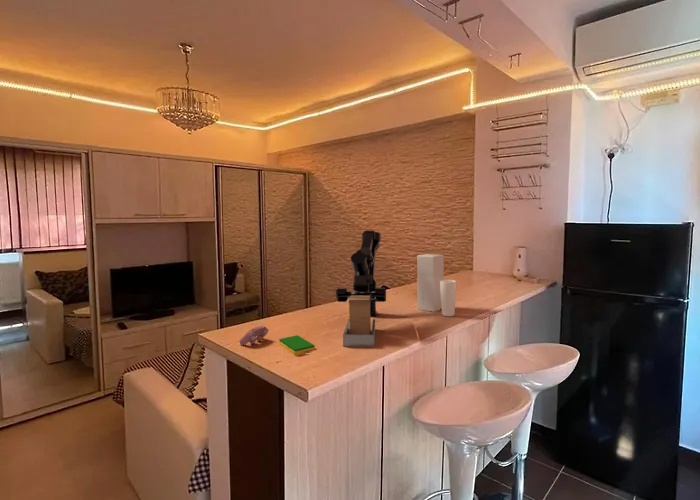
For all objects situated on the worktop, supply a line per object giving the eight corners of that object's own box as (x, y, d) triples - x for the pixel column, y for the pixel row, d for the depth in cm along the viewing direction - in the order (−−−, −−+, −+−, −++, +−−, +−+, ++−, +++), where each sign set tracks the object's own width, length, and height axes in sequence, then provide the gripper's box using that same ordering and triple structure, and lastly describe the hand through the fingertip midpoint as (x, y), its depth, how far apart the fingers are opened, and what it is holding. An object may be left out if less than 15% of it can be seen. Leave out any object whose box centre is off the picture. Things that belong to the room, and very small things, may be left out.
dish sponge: (295, 357, 123) (294, 349, 123) (279, 345, 135) (278, 338, 135) (315, 352, 127) (315, 345, 127) (297, 341, 139) (297, 334, 138)
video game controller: (246, 351, 133) (252, 334, 131) (237, 343, 135) (243, 327, 133) (266, 342, 142) (272, 327, 139) (258, 335, 143) (263, 320, 141)
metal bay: (348, 330, 148) (348, 319, 148) (375, 331, 147) (375, 319, 147) (343, 348, 128) (342, 335, 128) (374, 348, 128) (373, 335, 127)
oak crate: (351, 333, 143) (350, 295, 142) (370, 333, 142) (370, 295, 141) (349, 339, 136) (348, 299, 134) (370, 339, 135) (369, 299, 134)
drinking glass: (456, 317, 164) (456, 282, 162) (440, 317, 165) (440, 282, 164) (455, 313, 170) (455, 279, 169) (439, 313, 172) (439, 279, 170)
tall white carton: (417, 309, 180) (416, 255, 178) (427, 305, 186) (427, 253, 184) (434, 312, 174) (433, 256, 172) (444, 308, 180) (443, 254, 178)
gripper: (335, 267, 147) (332, 302, 137) (385, 266, 145) (386, 302, 135) (338, 284, 155) (336, 318, 145) (385, 283, 154) (386, 318, 144)
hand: (360, 314), depth 142 cm, fingers closed, pressing on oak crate
